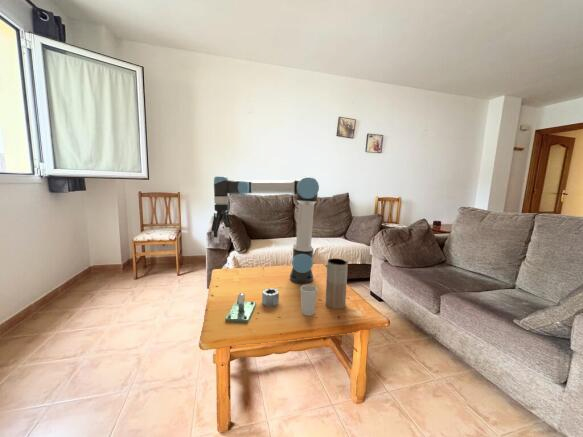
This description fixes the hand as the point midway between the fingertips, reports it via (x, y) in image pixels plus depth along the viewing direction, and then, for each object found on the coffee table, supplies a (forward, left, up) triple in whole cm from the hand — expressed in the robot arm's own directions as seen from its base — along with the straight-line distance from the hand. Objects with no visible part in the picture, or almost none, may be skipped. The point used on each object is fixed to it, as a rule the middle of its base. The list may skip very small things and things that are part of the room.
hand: (222, 240), depth 139 cm
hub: (-32, +19, -27) cm, 46 cm away
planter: (-65, +17, -27) cm, 72 cm away
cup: (-51, +26, -27) cm, 63 cm away
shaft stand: (-20, +30, -27) cm, 45 cm away
